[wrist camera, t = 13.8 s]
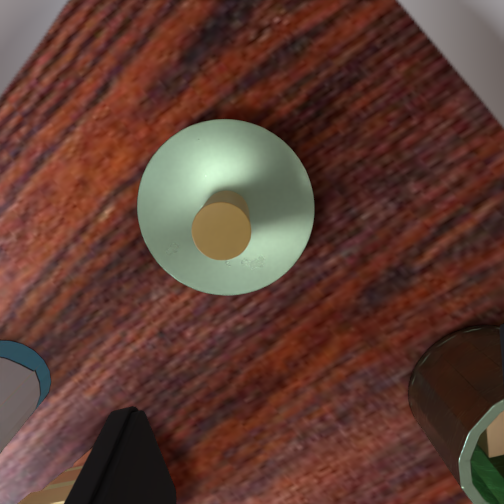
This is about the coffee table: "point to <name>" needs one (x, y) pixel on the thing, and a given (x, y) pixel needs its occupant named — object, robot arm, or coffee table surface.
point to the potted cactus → (57, 486)
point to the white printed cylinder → (20, 387)
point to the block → (493, 437)
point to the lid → (225, 207)
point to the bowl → (463, 406)
